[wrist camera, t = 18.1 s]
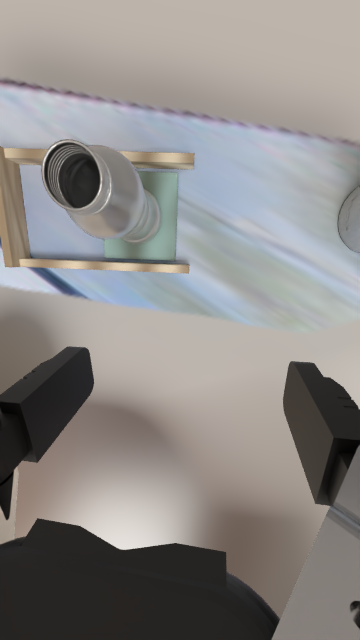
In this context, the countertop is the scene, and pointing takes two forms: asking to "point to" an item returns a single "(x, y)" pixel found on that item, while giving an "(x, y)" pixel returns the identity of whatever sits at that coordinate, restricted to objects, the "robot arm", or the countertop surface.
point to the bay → (10, 224)
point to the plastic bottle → (100, 192)
